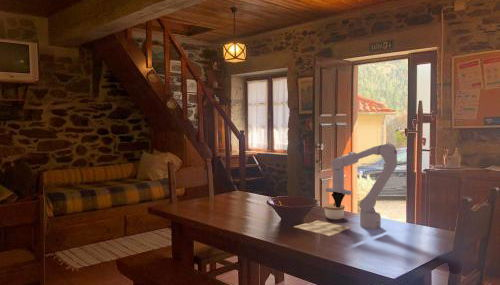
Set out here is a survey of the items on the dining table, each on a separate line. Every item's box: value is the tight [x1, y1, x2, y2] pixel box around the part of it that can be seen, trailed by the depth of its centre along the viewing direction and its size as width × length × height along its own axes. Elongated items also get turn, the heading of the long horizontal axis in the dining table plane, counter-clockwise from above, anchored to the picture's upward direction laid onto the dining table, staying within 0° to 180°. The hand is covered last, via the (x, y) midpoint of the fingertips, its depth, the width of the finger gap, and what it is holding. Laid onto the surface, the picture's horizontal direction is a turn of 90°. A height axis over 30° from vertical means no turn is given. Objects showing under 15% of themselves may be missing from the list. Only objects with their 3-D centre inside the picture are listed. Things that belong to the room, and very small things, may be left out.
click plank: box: [307, 220, 351, 232], centre depth 198 cm, size 20×8×1 cm, turn 42°
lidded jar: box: [324, 202, 345, 220], centre depth 214 cm, size 11×11×9 cm
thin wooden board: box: [293, 222, 342, 237], centre depth 191 cm, size 22×10×1 cm, turn 42°
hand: (338, 207), depth 203 cm, fingers closed
